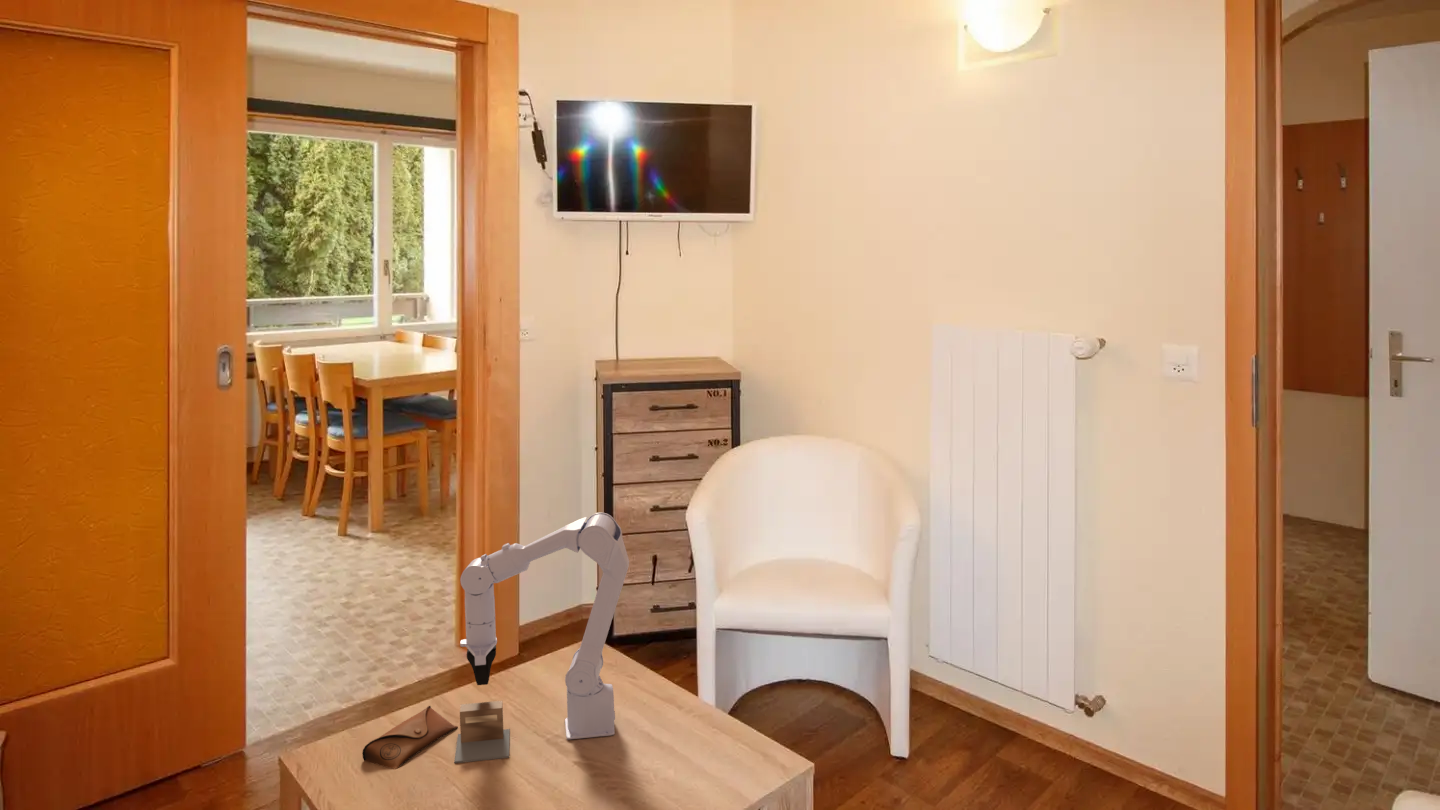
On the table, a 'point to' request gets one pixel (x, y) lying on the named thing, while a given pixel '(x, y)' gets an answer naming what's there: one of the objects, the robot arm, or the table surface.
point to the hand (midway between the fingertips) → (482, 683)
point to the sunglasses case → (407, 739)
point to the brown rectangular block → (481, 721)
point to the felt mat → (482, 749)
